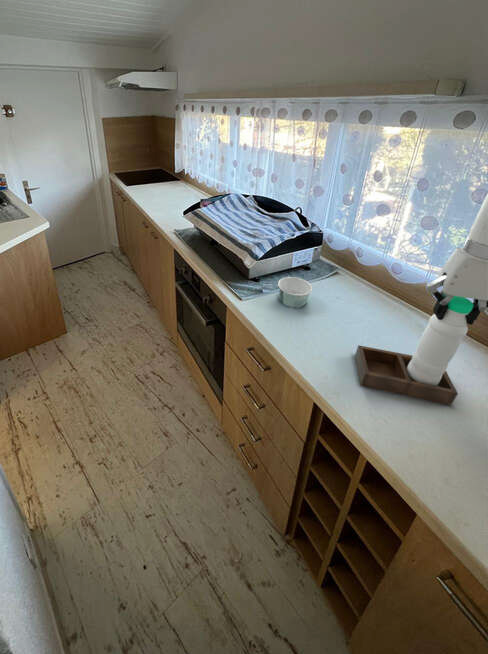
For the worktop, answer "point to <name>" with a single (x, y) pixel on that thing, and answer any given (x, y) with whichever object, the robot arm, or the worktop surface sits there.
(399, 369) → the tray
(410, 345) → the worktop surface
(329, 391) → the worktop surface
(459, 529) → the worktop surface
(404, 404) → the worktop surface
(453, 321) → the water bottle
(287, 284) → the food container
